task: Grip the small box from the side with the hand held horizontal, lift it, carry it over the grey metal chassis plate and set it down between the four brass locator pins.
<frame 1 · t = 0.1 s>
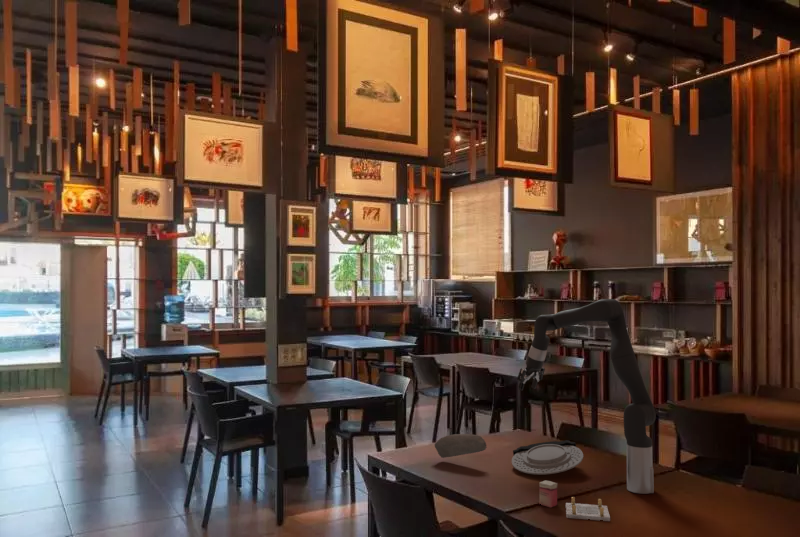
hand: (526, 388, 294), 31 cm above the table, tool tilted 20°, fingers open, 8 cm apart
chassis: (587, 513, 222), on the table
small box: (548, 505, 231), on the table
stone: (464, 454, 284), point 4 cm above the table
brake disc: (547, 462, 276), point 3 cm above the table
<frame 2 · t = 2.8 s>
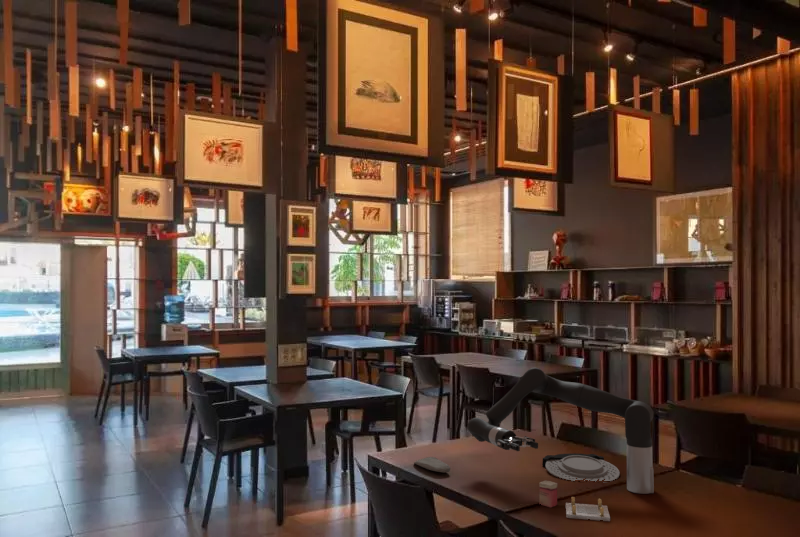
hand: (528, 447, 241), 18 cm above the table, tool horizontal, fingers open, 8 cm apart
stone: (442, 464, 278), point 2 cm above the table
brake disc: (580, 473, 273), on the table
everything else where it was.
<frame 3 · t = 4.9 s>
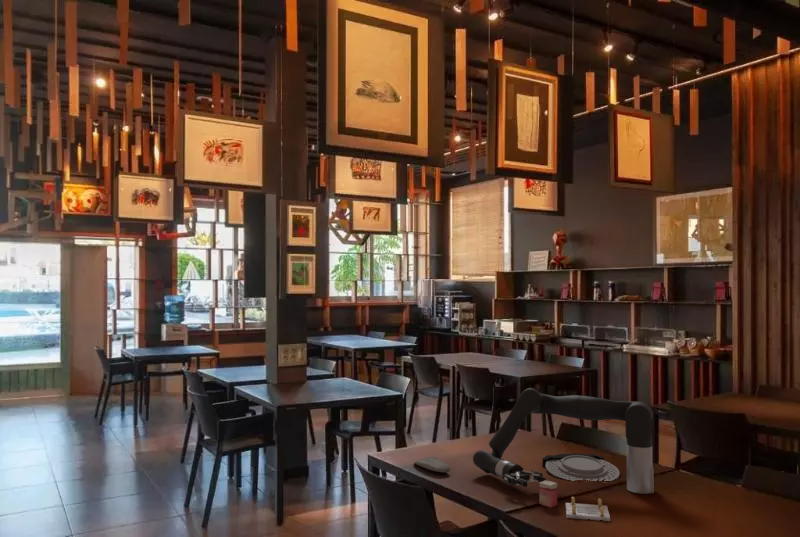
hand: (535, 482, 237), 6 cm above the table, tool horizontal, fingers open, 8 cm apart
nothing on the table moved.
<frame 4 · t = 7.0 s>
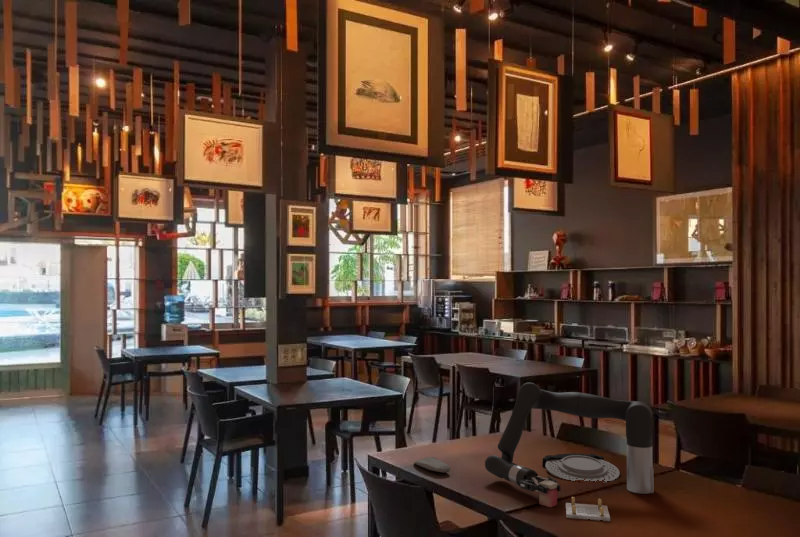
hand: (553, 489, 229), 6 cm above the table, tool horizontal, fingers closed on small box, 5 cm apart
small box: (548, 505, 231), on the table, touching gripper
everything else where it was.
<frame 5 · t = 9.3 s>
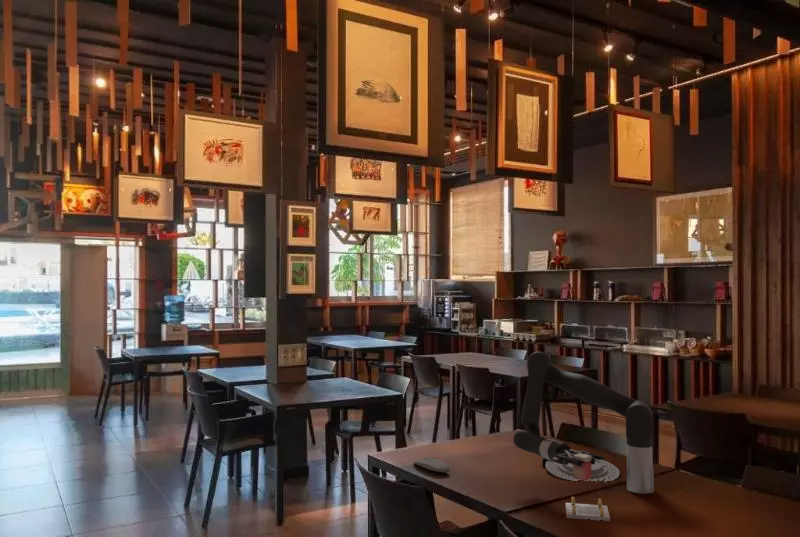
hand: (587, 462, 222), 18 cm above the table, tool horizontal, fingers closed on small box, 5 cm apart
small box: (582, 478, 224), point 11 cm above the table, touching gripper
everything else where it was.
when the fingers open (9 cm above the table, at t = 11.6 s): small box drops 1 cm, resting on chassis.
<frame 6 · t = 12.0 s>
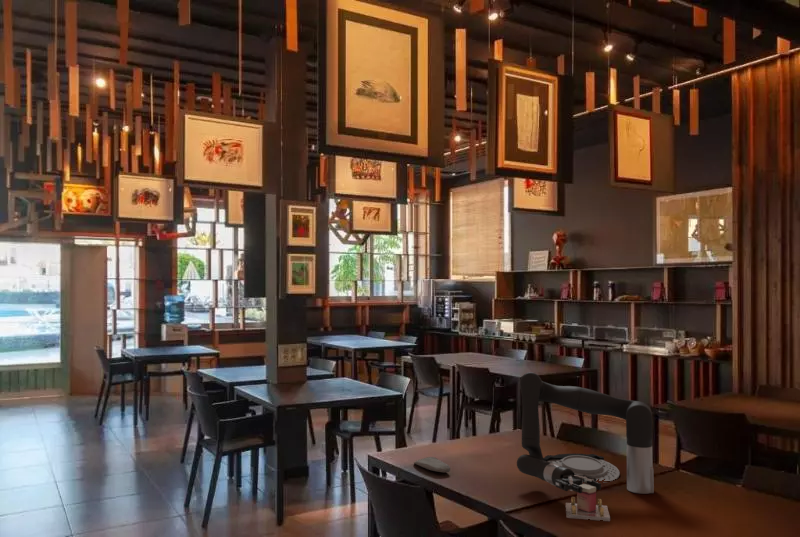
hand: (591, 488, 221), 9 cm above the table, tool horizontal, fingers open, 8 cm apart
small box: (586, 510, 222), point 1 cm above the table, touching chassis
everything else where it was.
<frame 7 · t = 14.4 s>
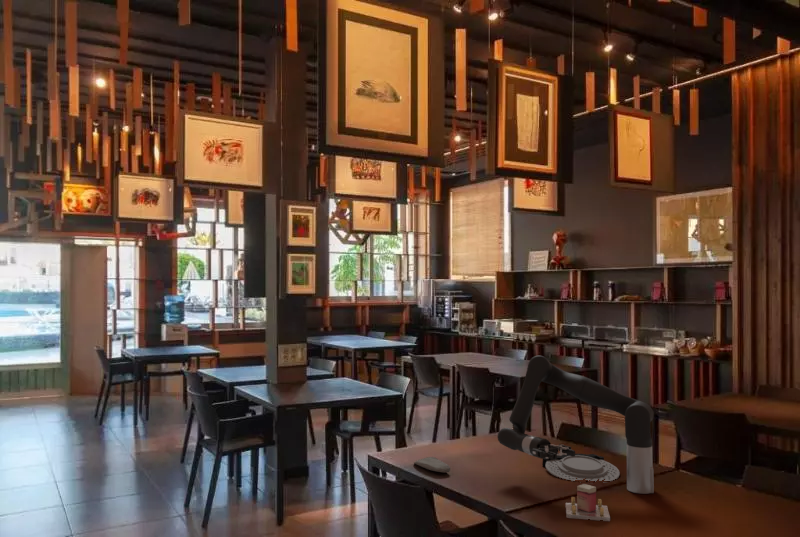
hand: (565, 455, 234), 17 cm above the table, tool horizontal, fingers open, 8 cm apart
nothing on the table moved.
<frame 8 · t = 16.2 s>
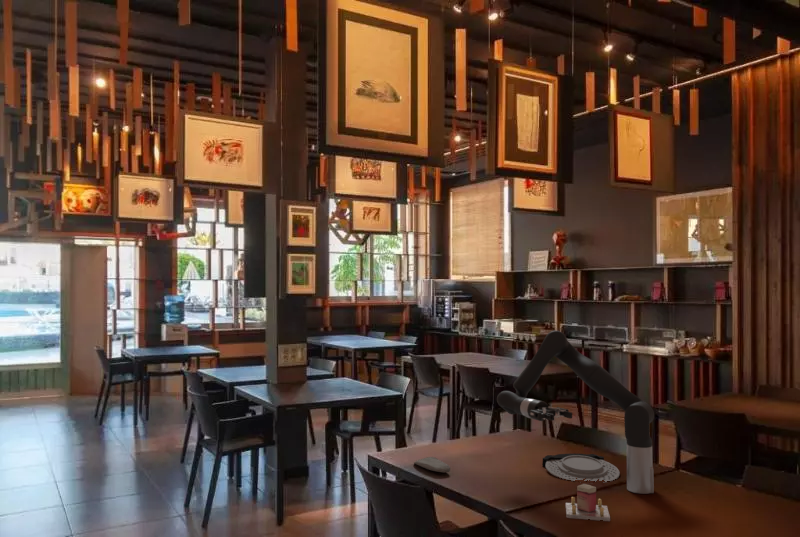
hand: (562, 416, 238), 30 cm above the table, tool horizontal, fingers open, 8 cm apart
nothing on the table moved.
at the end: small box 0.3 cm off-centre on the chassis, point 1.1 cm above the chassis's base; small box tilted 0°; the gripper is holding nothing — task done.
